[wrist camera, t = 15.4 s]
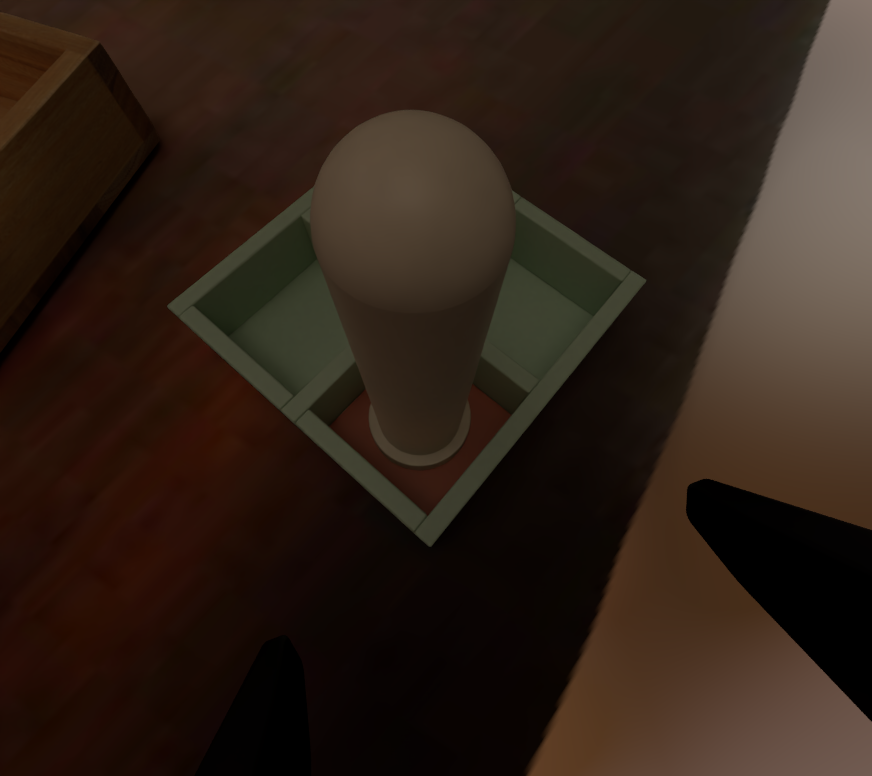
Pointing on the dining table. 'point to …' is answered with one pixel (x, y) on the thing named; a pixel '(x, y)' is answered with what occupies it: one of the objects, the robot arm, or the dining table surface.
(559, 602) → the dining table surface
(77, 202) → the tray
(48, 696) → the dining table surface
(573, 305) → the grid
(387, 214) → the beige rounded cylinder
